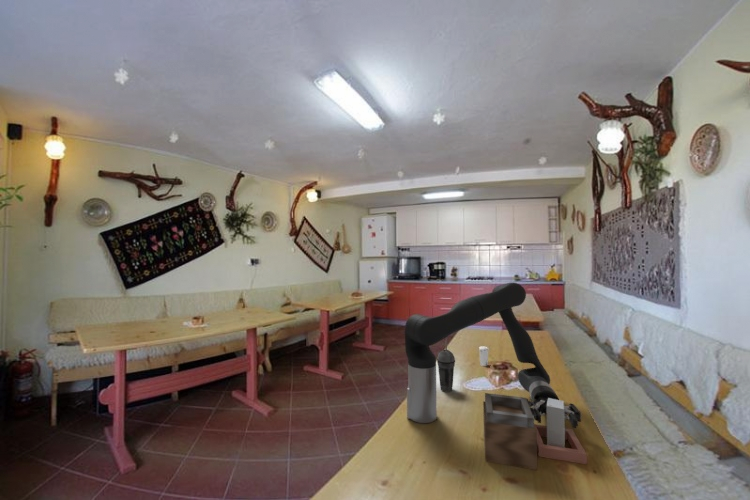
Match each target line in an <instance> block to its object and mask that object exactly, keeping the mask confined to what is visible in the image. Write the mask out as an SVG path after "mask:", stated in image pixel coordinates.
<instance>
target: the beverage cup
mask: <svg viewBox="0 0 750 500" xmlns="http://www.w3.org/2000/svg"><path fill="white" fill-rule="evenodd" d="M436 364H437V366H438V376H439V386H440V390H441V392H446V393H450V392H452V391H453V386H454V385H453V384H454V373H455V372H454V370H455V365H456V358H455V355H454V353H453V352H451V351H450V350H449V349H448V339H447V337H446V338H445V349H442V350H440V352H439V353H438V354H437V357H436Z"/></svg>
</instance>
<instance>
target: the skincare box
mask: <svg viewBox="0 0 750 500" xmlns="http://www.w3.org/2000/svg"><path fill="white" fill-rule="evenodd" d="M564 406H565V400H560V399H559V400H556V399H551V398H548V400H547V415H546V426H547V437H546V445H550V446H557V447H564V448H566V443H565V442H566V440H565V428H566V426H565V425H566V423H565V422H566V421H565V420H566V419H565V413H564Z"/></svg>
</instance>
